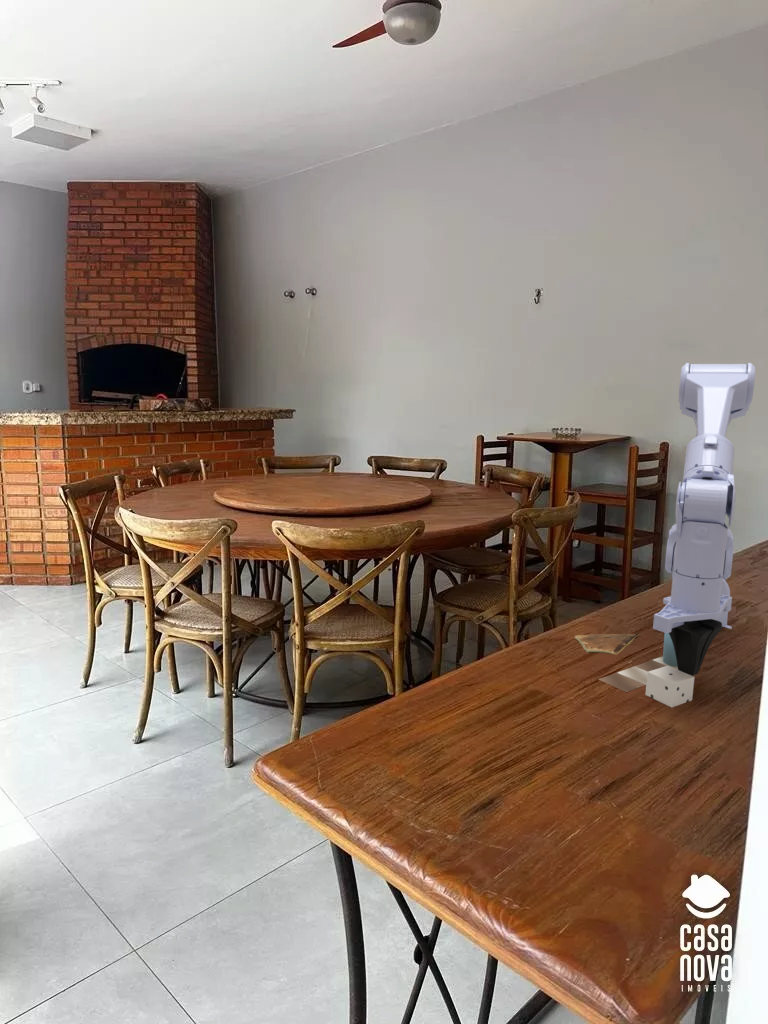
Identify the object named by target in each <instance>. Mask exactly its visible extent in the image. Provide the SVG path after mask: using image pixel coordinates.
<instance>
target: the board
mask: <svg viewBox="0 0 768 1024" xmlns="http://www.w3.org/2000/svg"><path fill="white" fill-rule="evenodd" d="M665 666H670V667H672V668H675V669H677V670H678V666H671V665H668V664H665V663H664V662H663V655H662V656H659V657H657V658H653V659H650V660H648V661H646V662H642V663H640V664H637V665H634V666H631V667H629V668H625V669H624V670H620V671H617V672H614V673H612V674H609V675H606V676H604V677H602V678H598V681H600V682H603V683H605V684H607V685H610V686H611V687H613V688H616V689H618V690H620V691H623V692H625V693H629V692H631V691H633V690H637V689H639V688H641V687H644V686H645V687H646V683H647V672H649V671H652V670H655V669H658V668H661V667H665Z"/></svg>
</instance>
